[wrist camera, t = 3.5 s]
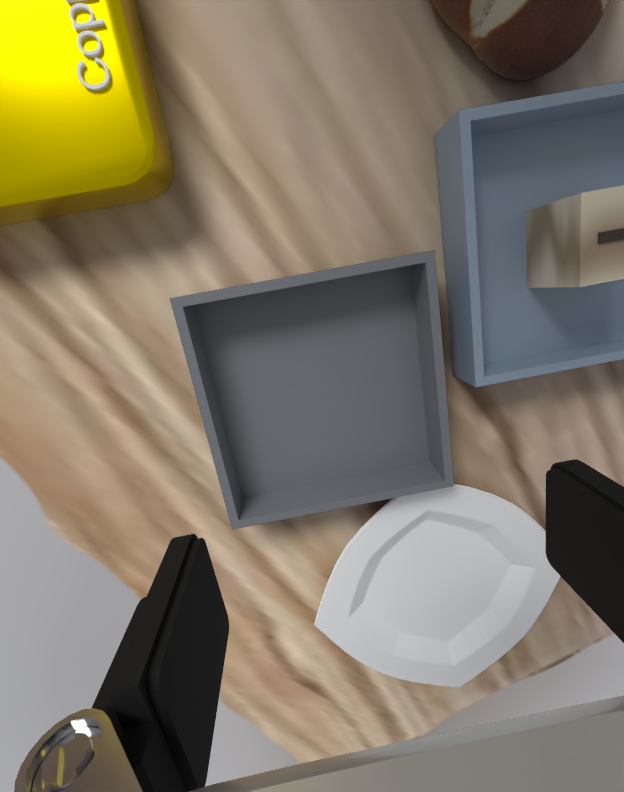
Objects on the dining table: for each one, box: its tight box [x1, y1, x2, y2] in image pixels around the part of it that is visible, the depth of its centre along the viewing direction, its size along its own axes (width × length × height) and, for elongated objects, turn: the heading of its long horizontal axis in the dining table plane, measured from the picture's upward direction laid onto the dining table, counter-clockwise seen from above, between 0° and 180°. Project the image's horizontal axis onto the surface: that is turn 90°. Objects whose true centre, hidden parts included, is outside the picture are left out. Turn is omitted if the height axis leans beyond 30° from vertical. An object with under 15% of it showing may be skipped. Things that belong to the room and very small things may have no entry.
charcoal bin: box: [170, 250, 454, 530], centre depth 27 cm, size 16×16×4 cm
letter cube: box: [526, 185, 624, 288], centre depth 24 cm, size 5×5×5 cm
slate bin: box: [435, 81, 624, 387], centre depth 25 cm, size 16×16×4 cm
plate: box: [314, 484, 561, 688], centre depth 33 cm, size 19×19×2 cm
